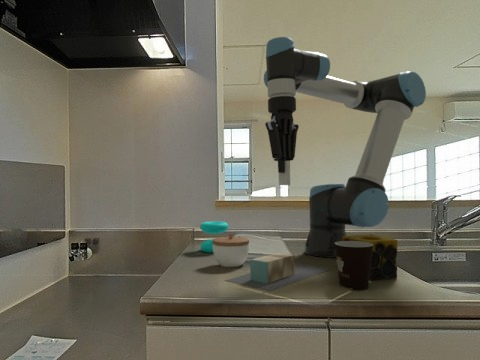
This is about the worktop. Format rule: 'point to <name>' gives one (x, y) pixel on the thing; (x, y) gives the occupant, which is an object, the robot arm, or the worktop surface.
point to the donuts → (212, 228)
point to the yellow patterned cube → (380, 255)
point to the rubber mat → (300, 273)
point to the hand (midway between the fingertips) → (284, 184)
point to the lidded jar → (230, 250)
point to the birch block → (272, 267)
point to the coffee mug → (354, 264)
